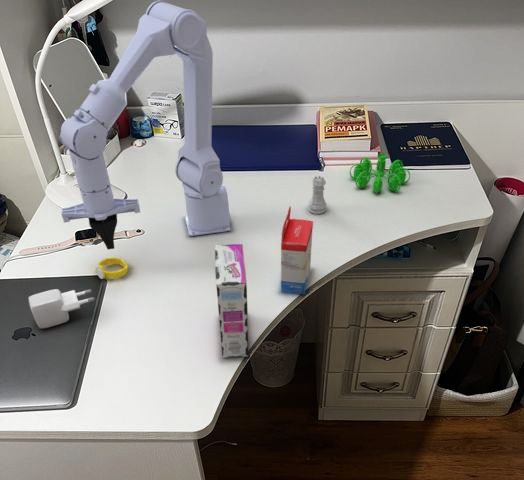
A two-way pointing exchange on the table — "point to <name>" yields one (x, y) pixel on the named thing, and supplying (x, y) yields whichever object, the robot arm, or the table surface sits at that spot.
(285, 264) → the ink box
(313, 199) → the rook chess piece
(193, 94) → the robot arm
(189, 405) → the table surface
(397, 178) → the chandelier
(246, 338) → the candy bar box
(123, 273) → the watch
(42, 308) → the power adapter
